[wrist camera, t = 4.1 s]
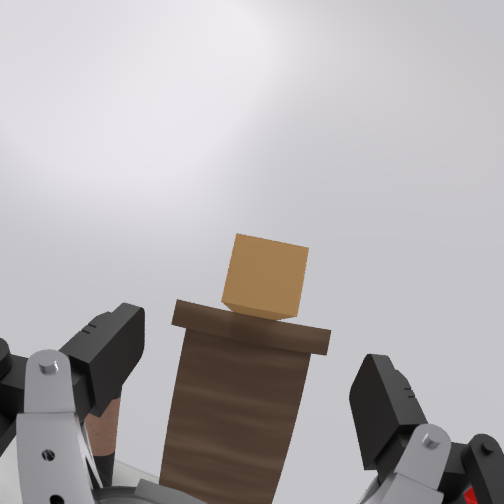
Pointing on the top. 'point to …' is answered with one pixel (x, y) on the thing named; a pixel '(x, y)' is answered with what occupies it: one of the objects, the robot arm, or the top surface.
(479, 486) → the robot arm
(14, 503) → the top surface
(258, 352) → the walnut pedestal
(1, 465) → the top surface
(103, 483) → the travel mug
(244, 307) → the tan block
